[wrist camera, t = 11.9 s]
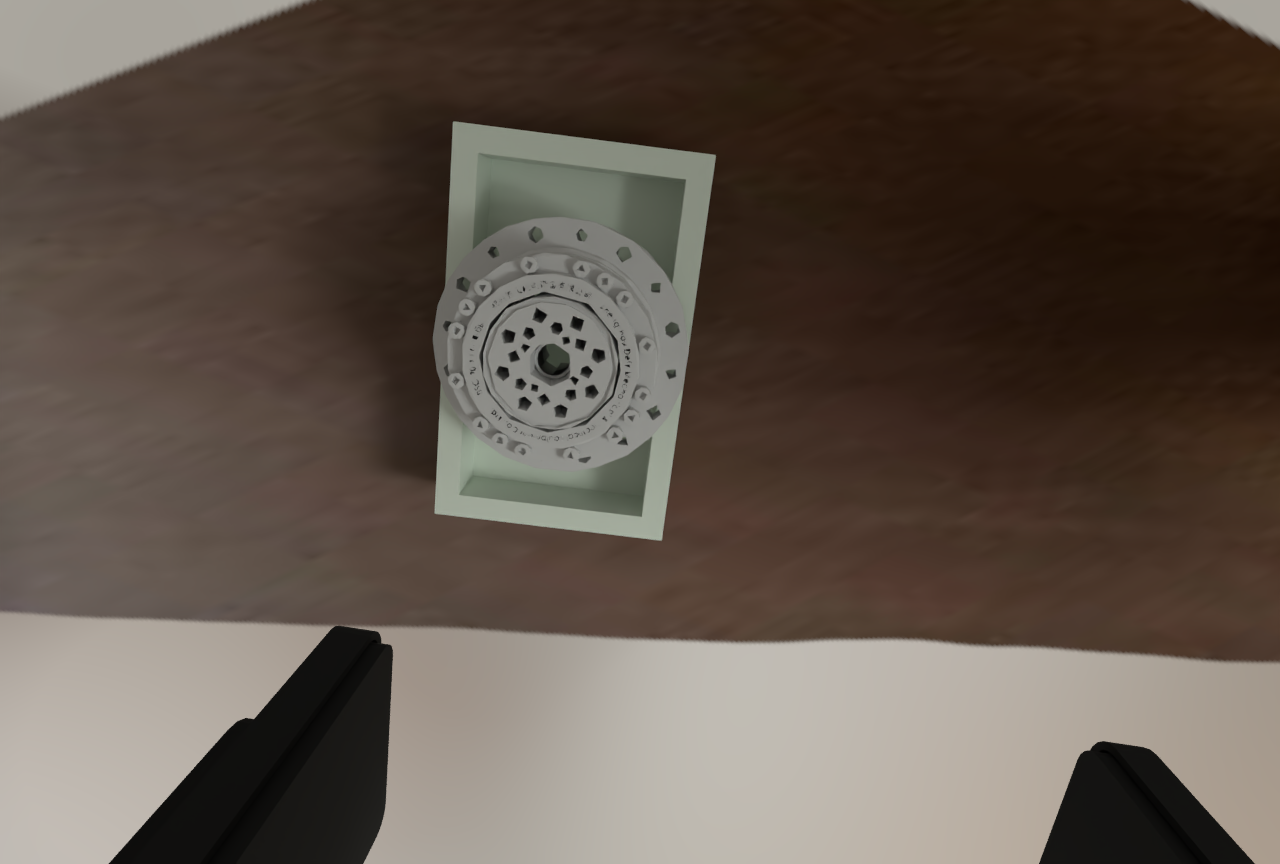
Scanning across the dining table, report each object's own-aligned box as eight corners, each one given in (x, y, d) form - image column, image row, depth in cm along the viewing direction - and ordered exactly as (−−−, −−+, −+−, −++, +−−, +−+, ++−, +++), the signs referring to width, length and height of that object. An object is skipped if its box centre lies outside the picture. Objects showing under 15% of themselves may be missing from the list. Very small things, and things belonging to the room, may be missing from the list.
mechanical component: (736, 312, 29) (526, 163, 28) (750, 327, 25) (503, 152, 23) (598, 503, 31) (398, 374, 30) (590, 546, 27) (356, 399, 26)
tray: (709, 162, 31) (715, 154, 27) (660, 510, 35) (661, 540, 32) (475, 132, 31) (452, 121, 27) (455, 485, 35) (434, 513, 32)
